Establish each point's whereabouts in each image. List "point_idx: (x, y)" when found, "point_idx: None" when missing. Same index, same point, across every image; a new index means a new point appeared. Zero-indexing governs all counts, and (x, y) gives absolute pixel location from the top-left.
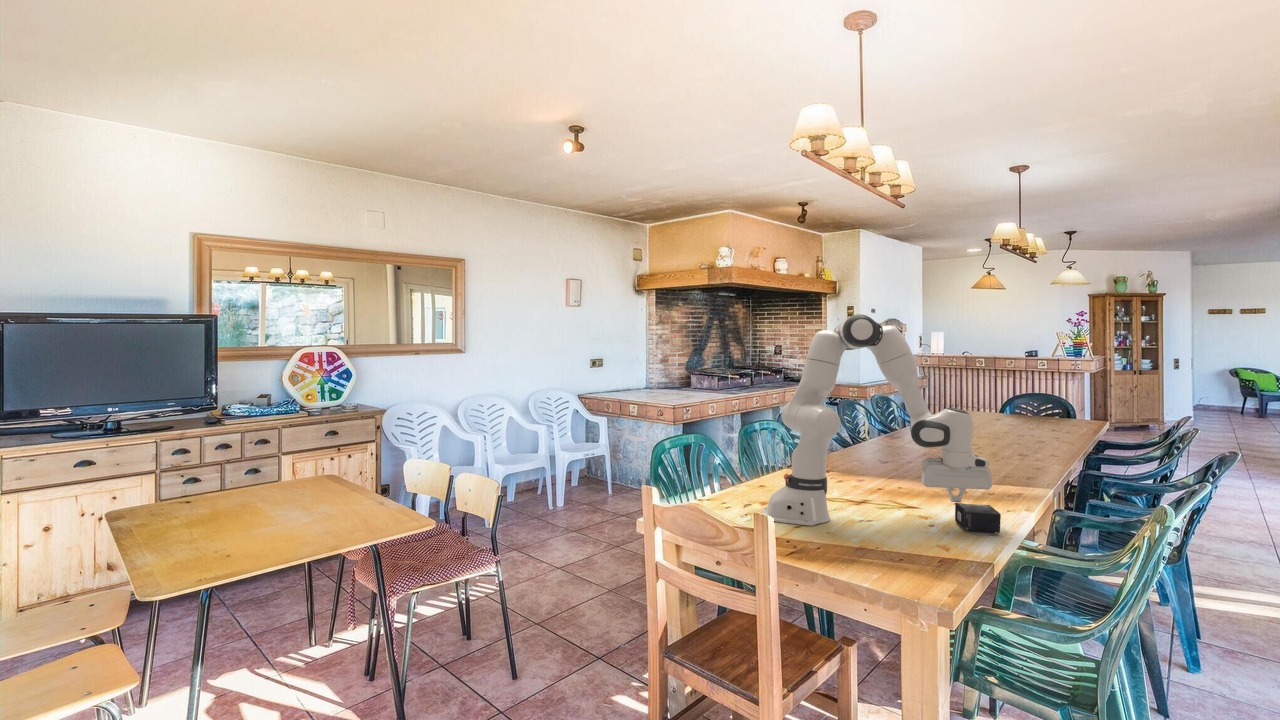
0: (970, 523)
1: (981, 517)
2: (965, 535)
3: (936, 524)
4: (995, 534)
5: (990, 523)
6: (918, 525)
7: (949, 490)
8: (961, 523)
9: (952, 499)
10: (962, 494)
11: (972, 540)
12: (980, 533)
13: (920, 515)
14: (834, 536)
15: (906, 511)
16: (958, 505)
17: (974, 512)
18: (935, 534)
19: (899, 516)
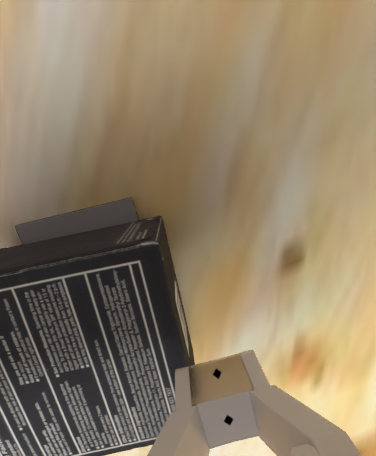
0: (128, 228)
1: (52, 252)
2: (158, 168)
3: (268, 285)
4: (25, 229)
5: (19, 252)
6: (345, 235)
7: (341, 449)
8: (171, 264)
9: (253, 363)
10: (167, 442)
11: (129, 93)
12: (91, 214)
13: (315, 380)
14: None
15: (360, 407)
16: None
17: (87, 258)
18: (290, 121)
19: None
